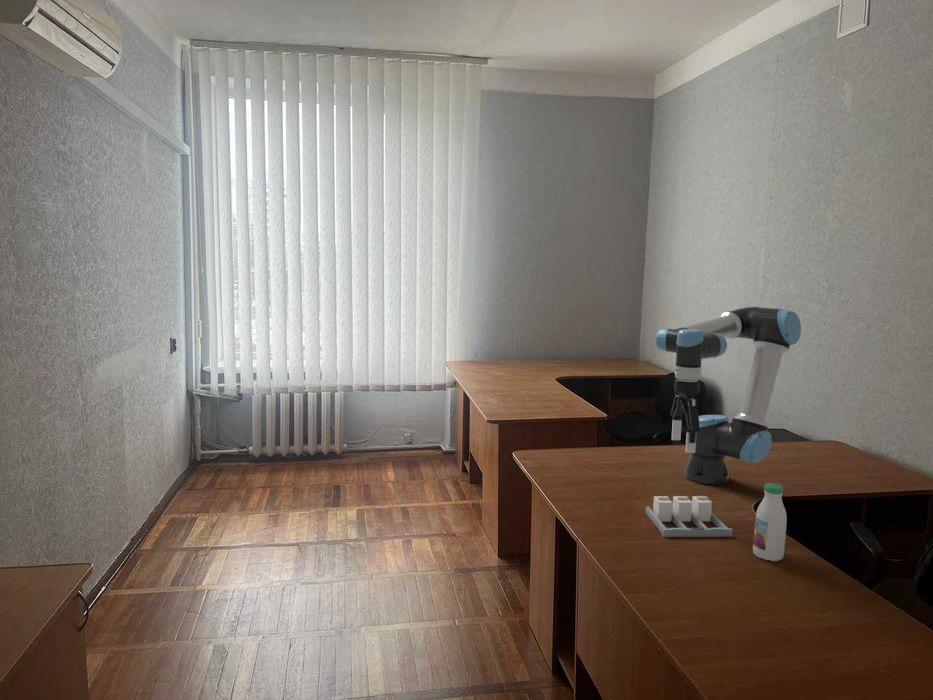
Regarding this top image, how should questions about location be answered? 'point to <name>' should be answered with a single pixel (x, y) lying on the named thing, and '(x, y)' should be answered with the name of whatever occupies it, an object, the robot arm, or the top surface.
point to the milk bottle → (770, 525)
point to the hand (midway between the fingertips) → (682, 446)
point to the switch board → (691, 532)
